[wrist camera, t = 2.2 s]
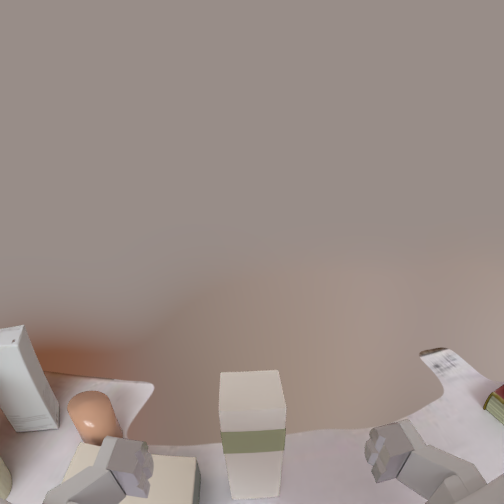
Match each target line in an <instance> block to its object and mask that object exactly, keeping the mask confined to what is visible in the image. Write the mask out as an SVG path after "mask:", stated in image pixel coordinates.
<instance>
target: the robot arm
mask: <svg viewBox="0 0 504 504" xmlns="http://www.w3.org/2000/svg"><path fill="white" fill-rule="evenodd" d="M369 435H370V437H371V438H370V439H369V440H368V441H367V442H366V445H365V457H366V460H367V462H368V463H369V464H371V465H372V466H373V468H372V471H371V472H372V474H373V476H374V478H375V481H376V483H380V482H383V481H387V480H391V479H394V478H396V479H397V480H399V481H400V482H401V483H403V484H404V485H406V486H407V487H409V488H410V489H412V490H413V491H415V492H416V493H418V494H419V495H421V496H422V497H424V498H425V499H427V500H428V501H427V502H426V503H425V504H504V474H502V475H501V476H499V477H498V478H496V479H495V480H493V481H492V482H490V483H489V484H487V483H486V482H485V480H484V479H483V477H482V476H481V474H480V473H479V471H478V470H477V468H476V467H475V465H474V464H472V463H470V462H467V461H465V460H463V459H460V458H458V457H456V456H453V455H451V454H449V453H446V452H444V451H442V450H440V449H437V448H435V447H433V446H431V445H428V446H426V444H425V443H424V441H423V440H422V438H421V436H420V435H419V433H418V432H417V430H416V429H415V427H414V426H413V424H412V423H411V421H410V420H408V419H406V420H403V421H399V422H396V423H395V422H394V423H391V424H387V425H383V426H379V427H376V428H373V429H372V430H371V431H370V434H369ZM147 451H148V445H147V443H146V442H143V441H136V440H130V439H124V438H118V437H112V436H106V437H105V438H104V440H103V442H102V445H101V447H100V450H99V452H98V455H97V457H96V460H95V462H94V465H93V466H88V467H87V468H85V469H84V470H82V471H81V472H79V473H78V474H76V475H74V476H73V477H71V478H70V479H68V480H66V481H65V482H63V483H62V484H60V485H58V486H57V487H55V488H53V489H52V490H50V491H48V492H47V494H46V497H45V499H44V501H43V503H42V504H119V503H120V502H121V501H122V500H123V499H124V498H125V497H126V495H128V496H134V497H141V498H148V494H149V490H150V483H149V481H148V479H149V478H151V477H152V475H153V470H154V462H153V458H152V455H151V454H150V453H149V452H147ZM0 504H11V503H10V502H8V501H6V500H4V499H2V498H0Z"/></svg>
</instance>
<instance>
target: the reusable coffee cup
mask: <svg viewBox="0 0 504 504" xmlns="http://www.w3.org/2000/svg"><path fill="white" fill-rule="evenodd" d="M11 487H12V478H11V474H10V472H9V470H8V468H7V467H6V465H5V463H4V462H3V460H2V459H1V457H0V498H2V499H4V500H5V499H6V498H7V497H8V495H9V493H10V491H11Z"/></svg>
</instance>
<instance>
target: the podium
mask: <svg viewBox="0 0 504 504" xmlns="http://www.w3.org/2000/svg"><path fill="white" fill-rule="evenodd" d="M100 447H101V446H96V445H91V444H87V443H82V442H80V444H79V446H78V448H77V450H76V452H75V454H74V456H73V459H72V461H71V463H70V465H69V467H68V470H67V472H66V474H65V476H64V479H63V481H62V483H63V482H65V481H66V480H68V479H70V478H71V477H73V476H74V475H76V474H78V473H79V472H81V471H82V470H84V469H85V468H87V467H88V466H93V465H94V462H95V460H96V457H97V455H98V452H99V450H100ZM151 455H152V458H153V462H154V470H153V475H152V477H151V478H149V479H148V481H149V483H150V490H149V494H148V498H141V497H134V496H128V495H126V497H125V498H124V499H123V500H122V501H121V502H120V503H119V504H199V494H200V480H201V474H200V471H199V467H198V464H197V460H196V457H181V456H167V455H156V454H151ZM62 483H61V484H62Z"/></svg>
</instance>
